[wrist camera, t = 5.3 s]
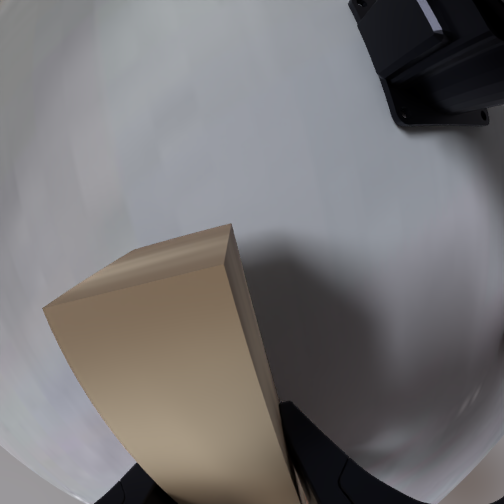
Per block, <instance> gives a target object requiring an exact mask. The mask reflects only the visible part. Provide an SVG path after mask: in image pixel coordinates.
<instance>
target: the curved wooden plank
mask: <svg viewBox="0 0 504 504" xmlns="http://www.w3.org/2000/svg"><path fill="white" fill-rule="evenodd" d="M42 309H43V311H44V314H45V316H46V318H47V321H48V323H49V325H50V328H51V330H52V332H53V334H54V336H55V338H56V340H57V343H58V345H59V347H60V349H61V351H62V353H63V354H64V356H65V358H66V360H67V362H68V364H69V366H70V368H71V369H72V371H73V373H74V375H75V376H76V378H77V380H78V382H79V383H80V385H81V387H82V388H83V390H84V391H85V393H86V395H87V396H88V398H89V399H90V401H91V402H92V404H93V405H94V407H95V408H96V410H97V411H98V413H99V414H100V416H101V417H102V419H103V420H104V421H105V423H106V424H107V425H108V427H109V428H110V430H111V431H112V432H113V434H114V435H115V436H116V437H117V439H118V440H119V441H120V442H121V444H122V445H123V446H124V447H125V449H126V450H127V451H128V452H129V453H130V455H131V456H132V457H133V458H134V459H135V460H136V462H137V463H138V464H139V465H140V466H141V467H142V468H143V469H144V470H145V472H146V473H147V474H148V475H149V476H150V477H151V478H152V479H153V480H154V481H155V482H156V483H157V484H158V485H159V486H160V487H161V488H162V489H163V490H164V491H165V492H166V493H167V494H168V495H169V496H170V497H171V498H173V499H174V500H175V501H176V502H177V503H178V504H306V499H305V495H304V491H303V488H302V486H301V483H300V481H299V478H298V476H297V473H296V471H295V468H294V466H293V463H292V459H291V456H290V452H289V449H288V445H287V442H286V438H285V434H284V431H283V427H282V422H281V416H280V411H279V403H280V402H279V399H278V395H277V392H276V388H275V385H274V381H273V377H272V374H271V370H270V367H269V363H268V359H267V356H266V352H265V348H264V345H263V341H262V337H261V334H260V330H259V326H258V323H257V319H256V315H255V311H254V308H253V304H252V300H251V296H250V293H249V289H248V285H247V281H246V278H245V274H244V270H243V266H242V262H241V259H240V255H239V251H238V247H237V243H236V239H235V235H234V232H233V228H232V224H227V225H223V226H219V227H215V228H211V229H207V230H204V231H200V232H196V233H192V234H189V235H185V236H181V237H178V238H174V239H170V240H167V241H163V242H159V243H156V244H152V245H149V246H145V247H142V248H138V249H135V250H133V251H131V252H129V253H127V254H126V255H124V256H122V257H121V258H119V259H118V260H116V261H114V262H113V263H111V264H109V265H108V266H106V267H104V268H103V269H101V270H100V271H98V272H96V273H95V274H93V275H92V276H90V277H89V278H87V279H85V280H84V281H82V282H81V283H79V284H78V285H76V286H75V287H73V288H72V289H70V290H69V291H67V292H66V293H64V294H63V295H61V296H60V297H58V298H57V299H55V300H54V301H52V302H51V303H49V304H48V305H46V306H45V307H43V308H42Z"/></svg>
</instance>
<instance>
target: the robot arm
mask: <svg viewBox="0 0 504 504" xmlns="http://www.w3.org/2000/svg"><path fill="white" fill-rule="evenodd" d="M358 4H360V5H361V6H360V5H358ZM348 5H349V8H350V9H351V11H352V13H353V15H354V18H355V20H356V22H357V24H358V25H357V26H358V29H359V31H360V33H361V35H362V38H363V40H364V42H365V45H366V47H367V49H368V52H369V54H370V57H371V59H372V62H373V65H374V67H375V70H376V73H377V74H378V75H379V78H380V81H381V84H382V87H383V90H384V93H385V96H386V99H387V102H388V106H389V109H390V112H391V116H392V118H393V120H394V121H395V122H396V123H397V124H398V125H400V126H434V125H456V126H486V125H488V124H489V116H488V112H487V108H488V107H493V106H497V105H502V104H504V0H350V1H349V3H348ZM401 109H402V110H403V111H404V112H405V114H406V118H404V117H403V116H402V114H401ZM279 411H280V416H281V422H282V427H283V431H284V434H285V438H286V442H287V445H288V449H289V452H290V456H291V459H292V463H293V466H294V468H295V471H296V473H297V476H298V478H299V481H300V483H301V486H302V488H303V491H304V493H305V496H306V498H307V501H308V503H309V504H429V503H424V502H421V501H418V500H415V499H413V498H411V497H409V496H407V495H405V494H403V493H401V492H399V491H398V490H396V489H394V488H392V487H390V486H389V485H387V484H385V483H383V482H382V481H380V480H379V479H377V478H375V477H374V476H372V475H371V474H369V473H368V472H367V471H365V470H364V469H363V468H362V467H360V466H359V465H358V464H357V463H356V462H355V461H353V460H352V459H351V458H349V456H348V455H346V454H345V453H344V452H343V451H342V450H341V449H340V448H339V447H338V446H337V445H336V444H334V443H333V442H332V441H331V440H330V439H329V438H328V437H327V436H326V435H325V434H324V433H323V432H322V431H321V430H320V429H319V428H318V427H317V426H316V425H314V424H313V423H312V422H311V421H310V420H309V419H308V418H307V417H306V416H305V415H304V414H303V413H302V412H301V411H300V410H299V409H298V408H297V407H296V406H295V405H294V404H293V403H292V402H291V401H286V402H282V403H279ZM94 504H178V503H177V502H176V501H175V500H174V499H173V498H171V497H170V496H169V495H168V494H167V493H166V492H165V491H164V490H163V489H162V488H161V487H160V486H159V485H158V484H157V483H156V482H155V481H154V480H153V479H152V478H151V477H150V476H149V475H148V474H147V473H146V472H145V470H144V469H143V468H142V467H141V466H140V465H139V464H138V463H136V464H135V465H134V466H133V467H132V468H131V469H130V470H129V471H128V472H127V473H126V474H125V475H124V476H123V477H122V478H121V479H120V481H118V482H117V483H116V484H115V485H114V486H113V487H112V488H111V489H110V490H109V491H108V492H107V493H106V494H105V495H104V496H103V497H101V498H100V499H99V500H98V501H97V502H95V503H94ZM491 504H504V496H503V497H502V498H501V499H499V500H497V501H495V502H493V503H491Z"/></svg>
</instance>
